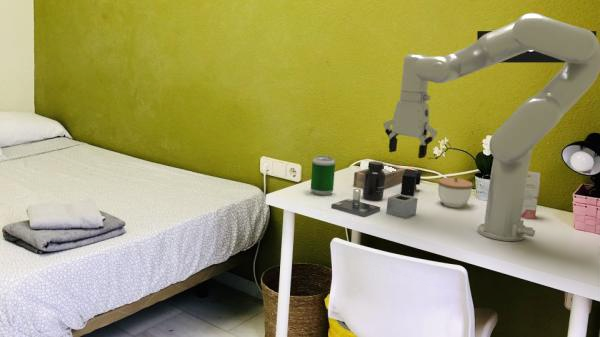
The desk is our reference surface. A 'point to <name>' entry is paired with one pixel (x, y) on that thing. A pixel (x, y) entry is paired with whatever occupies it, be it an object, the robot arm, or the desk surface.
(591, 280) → the desk surface
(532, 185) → the ink cartridge box
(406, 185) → the digital camera
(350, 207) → the stand
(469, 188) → the lidded jar
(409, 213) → the block
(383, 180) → the supplement bottle
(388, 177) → the organizer frame
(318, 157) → the soda can
